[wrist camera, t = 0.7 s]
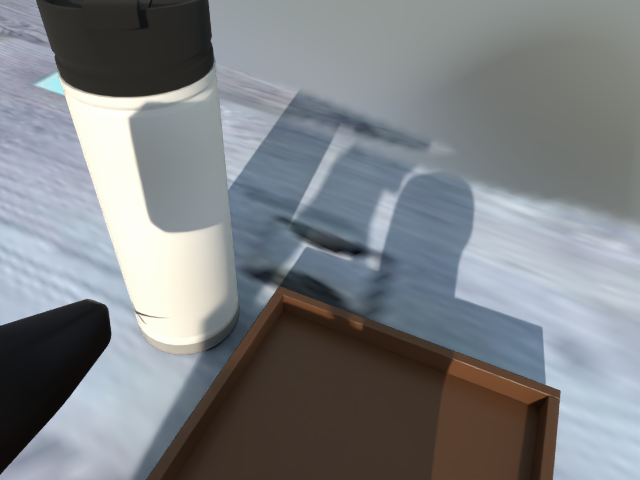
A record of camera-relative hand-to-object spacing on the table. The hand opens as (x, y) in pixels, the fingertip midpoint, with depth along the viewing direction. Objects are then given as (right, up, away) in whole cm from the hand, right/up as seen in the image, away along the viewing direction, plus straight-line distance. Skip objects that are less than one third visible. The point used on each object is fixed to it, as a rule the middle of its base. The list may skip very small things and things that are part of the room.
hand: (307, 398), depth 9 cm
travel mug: (-8, -2, +23) cm, 24 cm away
